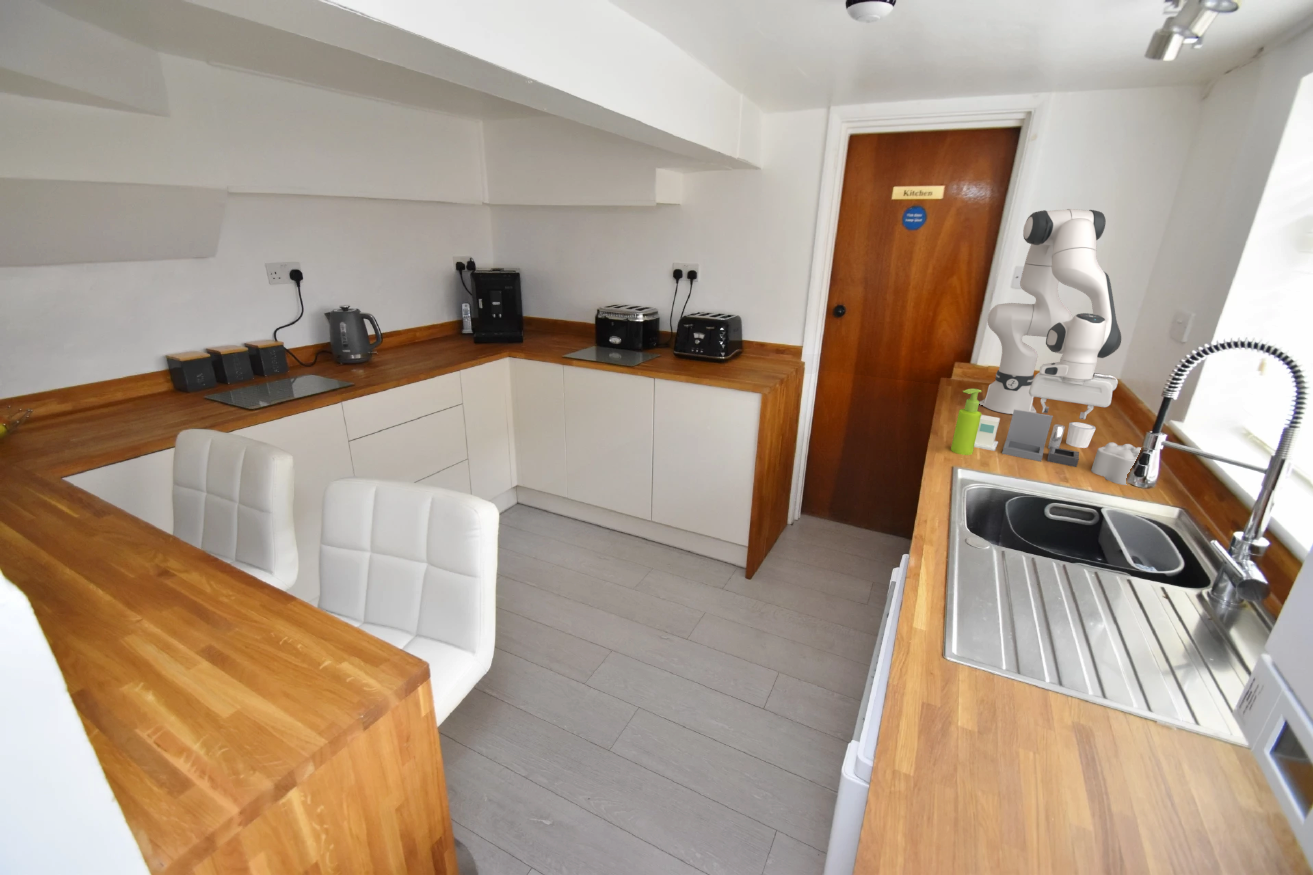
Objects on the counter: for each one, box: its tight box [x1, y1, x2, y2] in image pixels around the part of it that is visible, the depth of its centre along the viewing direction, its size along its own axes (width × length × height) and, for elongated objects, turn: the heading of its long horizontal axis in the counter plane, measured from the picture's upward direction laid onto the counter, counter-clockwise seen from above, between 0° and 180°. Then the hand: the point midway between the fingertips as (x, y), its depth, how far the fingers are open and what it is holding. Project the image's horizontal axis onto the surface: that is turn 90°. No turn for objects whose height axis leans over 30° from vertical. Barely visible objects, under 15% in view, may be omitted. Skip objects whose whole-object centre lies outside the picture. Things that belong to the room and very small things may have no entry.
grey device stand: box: [1001, 409, 1054, 462], centre depth 171 cm, size 10×10×12 cm
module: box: [975, 414, 1001, 447], centre depth 177 cm, size 5×5×8 cm
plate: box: [974, 440, 999, 452], centre depth 179 cm, size 8×7×1 cm
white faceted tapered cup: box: [1065, 421, 1097, 449], centre depth 179 cm, size 7×7×7 cm
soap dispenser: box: [950, 388, 983, 456], centre depth 169 cm, size 6×7×20 cm
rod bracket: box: [1047, 447, 1080, 468], centre depth 167 cm, size 7×7×3 cm
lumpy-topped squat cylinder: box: [1090, 441, 1142, 486], centre depth 158 cm, size 10×13×9 cm
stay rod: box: [1047, 423, 1066, 450], centre depth 176 cm, size 3×3×8 cm
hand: (1063, 415), depth 172 cm, fingers open, 8 cm apart
